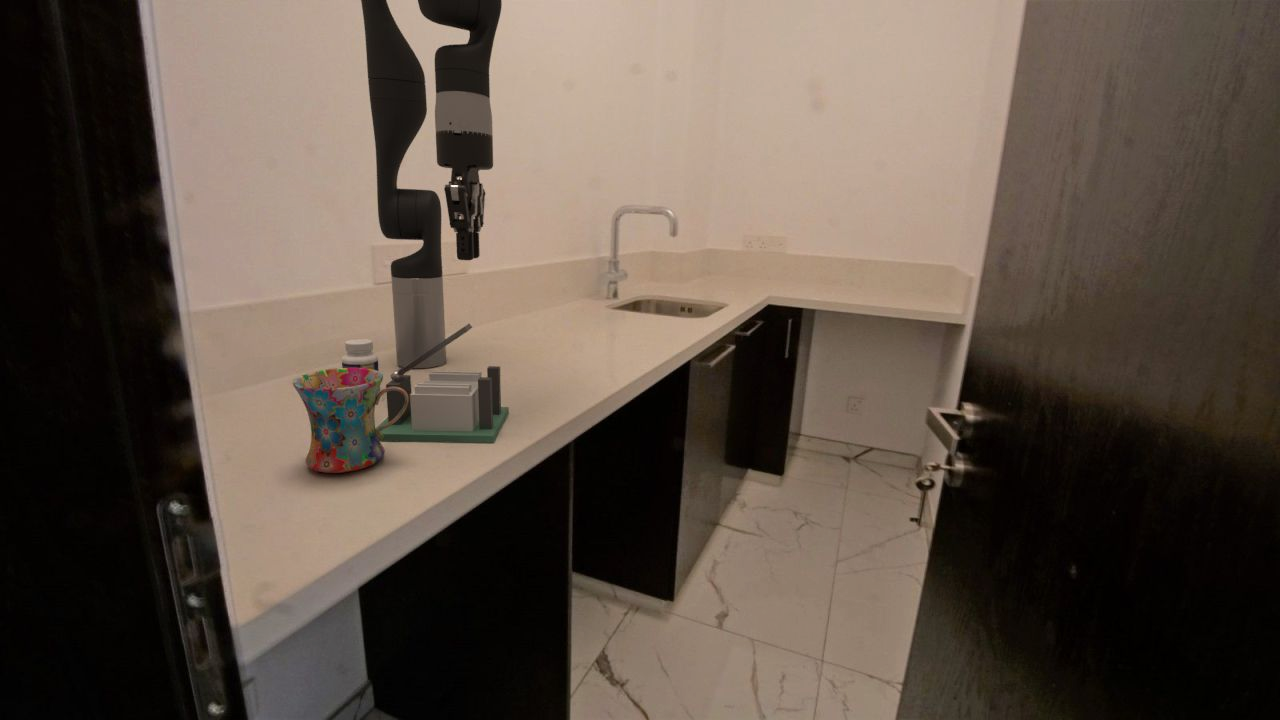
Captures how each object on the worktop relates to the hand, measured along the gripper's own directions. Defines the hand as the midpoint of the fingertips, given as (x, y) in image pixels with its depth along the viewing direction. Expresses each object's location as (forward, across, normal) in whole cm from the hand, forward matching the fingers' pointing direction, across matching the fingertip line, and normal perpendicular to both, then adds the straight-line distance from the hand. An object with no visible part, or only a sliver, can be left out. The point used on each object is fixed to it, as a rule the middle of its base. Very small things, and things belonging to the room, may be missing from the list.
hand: (468, 258), depth 84 cm
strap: (+13, +7, -4) cm, 15 cm away
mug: (+23, +20, -9) cm, 32 cm away
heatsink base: (+23, +7, -2) cm, 24 cm away
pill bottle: (+23, -7, -20) cm, 31 cm away
